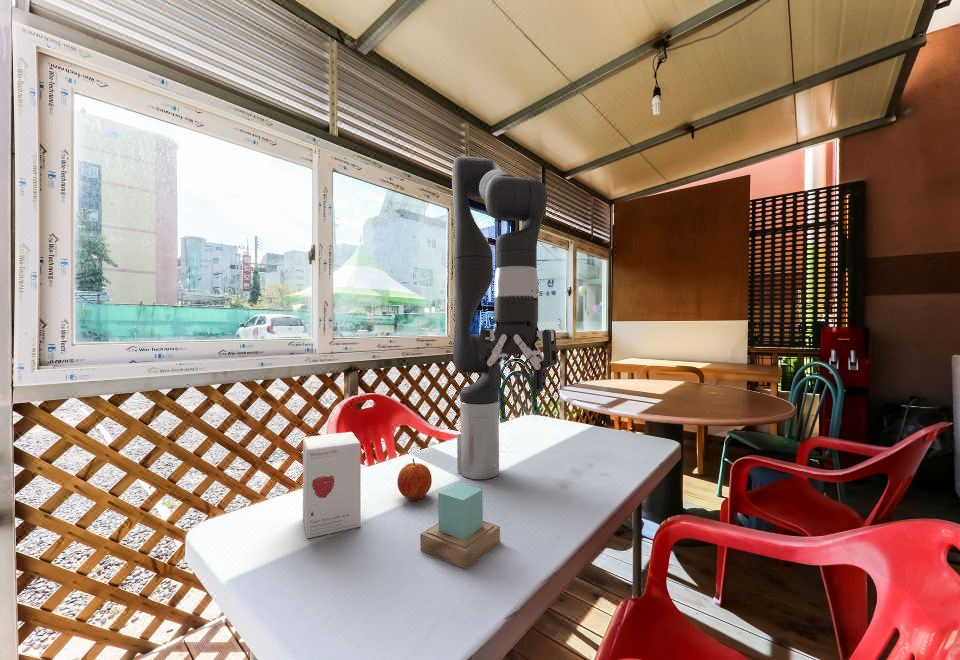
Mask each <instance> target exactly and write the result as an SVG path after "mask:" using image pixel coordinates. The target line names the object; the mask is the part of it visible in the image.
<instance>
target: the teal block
mask: <svg viewBox="0 0 960 660" xmlns="http://www.w3.org/2000/svg"><path fill="white" fill-rule="evenodd" d="M437 497H438V501H437V502H438V504H437V506H438V507H437V509H438V518H437V519H438V523H439V531H441V532H443V533H446V534H449V535H451V536H454V537H457V538H459V539H462V540H465V539H466V538H467V537H469V536H470V535H472V534H473V533H474V532H476V531H477V530H479V529H480V528H481V527H483V521H484V520H483V517H484V515H483V514H484V513H483V511H484V510H483V509H484V508H483V507H484V506H483V505H484V504H483V501H484V500H483V489H482V488H479V487H476V486H472V485H468V484H465V483H461V482H455V484H452V485H450V486H449V487H446V488H445V489H443V490H441V491H438V493H437Z"/></svg>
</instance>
